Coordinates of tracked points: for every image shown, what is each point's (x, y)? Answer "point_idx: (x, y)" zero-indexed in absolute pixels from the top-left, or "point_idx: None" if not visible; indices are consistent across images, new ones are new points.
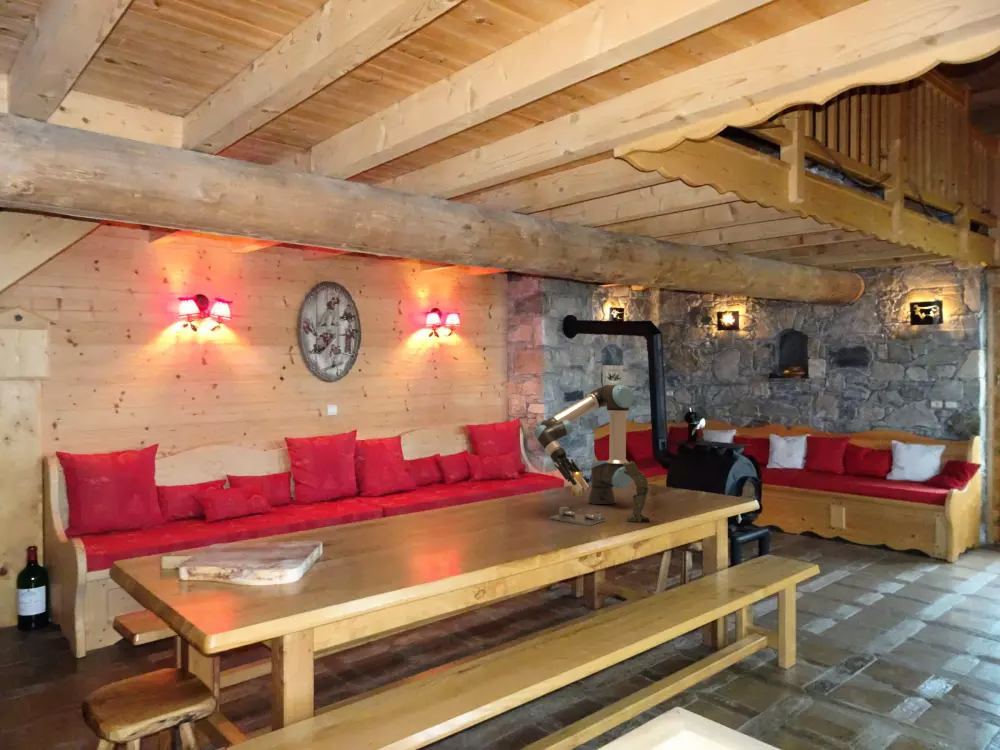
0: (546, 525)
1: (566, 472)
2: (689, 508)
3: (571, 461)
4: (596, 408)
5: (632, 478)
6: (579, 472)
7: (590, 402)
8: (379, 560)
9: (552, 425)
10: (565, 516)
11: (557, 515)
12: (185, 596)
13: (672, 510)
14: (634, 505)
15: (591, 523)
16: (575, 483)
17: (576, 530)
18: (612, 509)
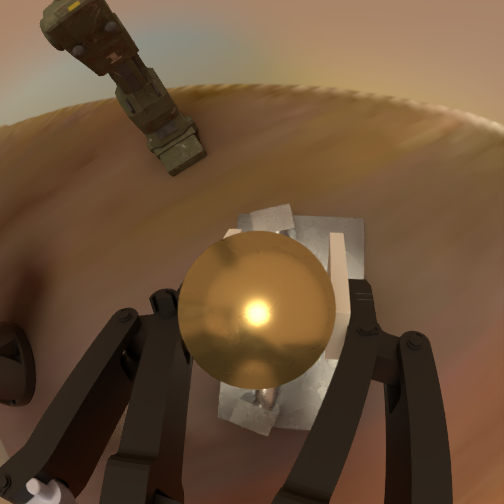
0: (452, 367)
1: (423, 394)
2: (19, 154)
3: (41, 490)
4: None
5: (126, 32)
6: (261, 262)
7: None
8: None
9: None
10: (300, 382)
11: (300, 421)
12: None
13: (36, 163)
14: (172, 108)
15: (348, 218)
16: (365, 280)
17: (449, 225)
18: (58, 298)
